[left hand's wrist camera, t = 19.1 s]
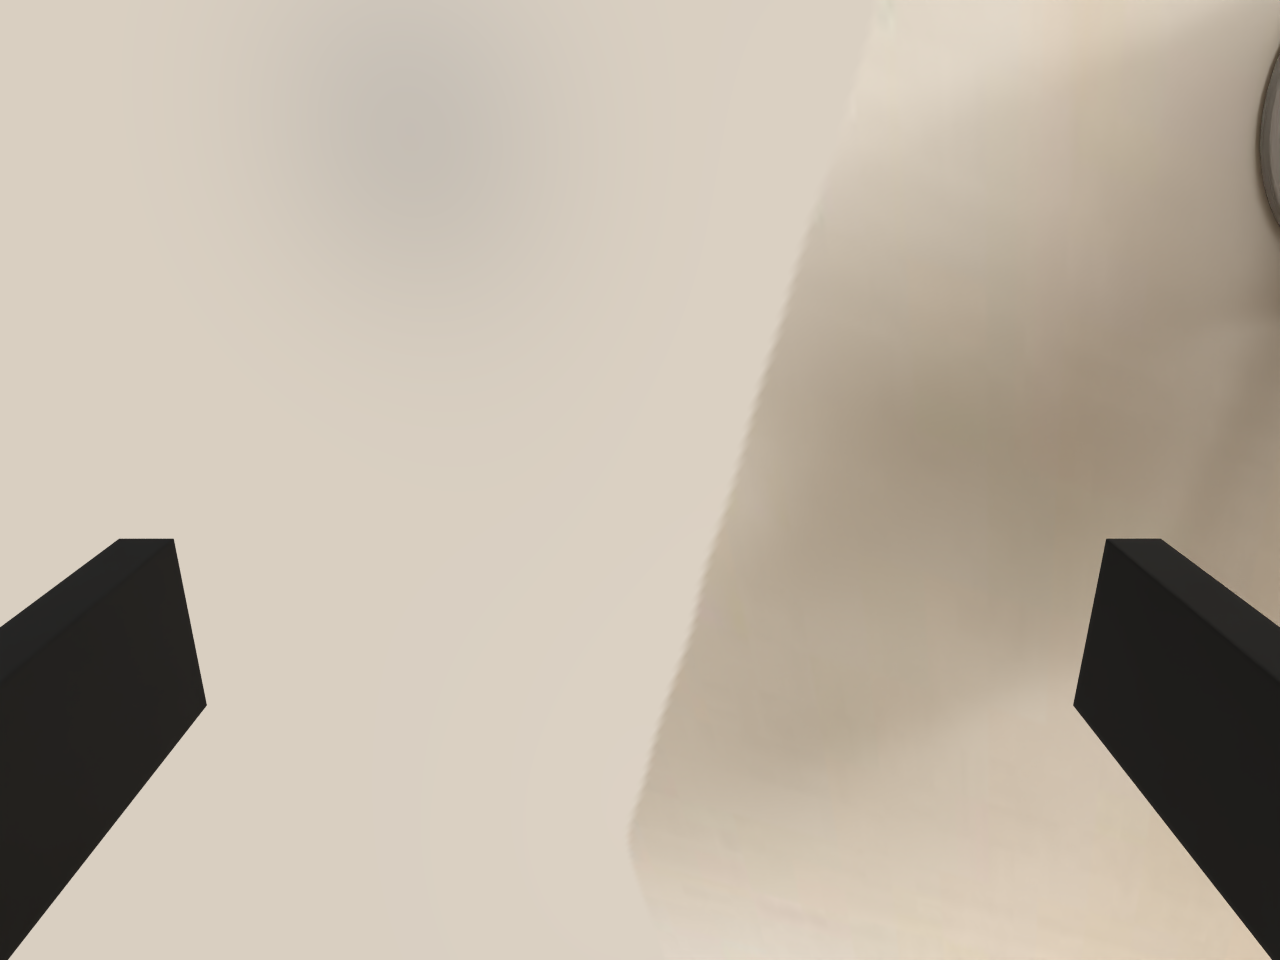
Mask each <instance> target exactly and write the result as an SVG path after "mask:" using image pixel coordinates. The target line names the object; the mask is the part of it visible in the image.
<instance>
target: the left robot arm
mask: <svg viewBox="0 0 1280 960" xmlns="http://www.w3.org/2000/svg"><path fill="white" fill-rule="evenodd" d="M1260 156H1261V170H1262V176H1263V181H1264V187H1265V191H1266V194H1267V198H1268V201H1269V204H1270V207H1271V209H1272V212H1273V214H1274V216H1275V219H1276V221H1277V223H1278V224H1279V226H1280V54H1279V57H1278V59H1277V62H1276V64H1275V67H1274V70H1273V73H1272V76H1271V80H1270V83H1269V86H1268V90H1267V94H1266V99H1265V104H1264V108H1263V115H1262V124H1261V136H1260ZM206 706H207V704H206V699H205V694H204V689H203V684H202V679H201V674H200V669H199V664H198V659H197V654H196V649H195V644H194V639H193V634H192V629H191V624H190V619H189V614H188V609H187V604H186V598H185V594H184V589H183V584H182V578H181V573H180V568H179V563H178V558H177V553H176V548H175V543H174V539H118V540H117V541H116V542H114V543H113V544H112V545H110V546H109V547H108V548H106V549H105V550H103V551H102V552H101V553H100V554H98V555H97V556H95V557H94V558H93V559H91V560H90V561H89V562H87V563H86V564H85V565H83V566H82V567H81V568H79V569H78V570H77V571H75V572H74V573H73V574H71V575H70V576H69V577H67V578H66V579H65V580H63V581H62V582H60V583H59V584H58V585H56V586H55V587H54V588H52V589H51V590H50V591H48V592H47V593H46V594H44V595H43V596H42V597H40V598H39V599H38V600H36V601H35V602H34V603H32V604H31V605H30V606H28V607H27V608H26V609H24V610H23V611H22V612H20V613H19V614H18V615H16V616H15V617H14V618H12V619H11V620H9V621H8V622H7V623H5V624H4V625H3V626H1V627H0V960H8V959H9V958H10V956H11V955H12V954H13V953H14V951H15V950H16V949H17V947H18V946H19V945H20V944H21V942H22V941H23V940H24V938H25V937H26V936H27V935H28V933H29V932H30V931H31V929H32V928H33V927H34V926H35V924H36V923H37V922H38V921H39V919H40V918H41V917H42V915H43V914H44V913H45V912H46V910H47V909H48V908H49V906H50V905H51V904H52V903H53V901H54V900H55V899H56V897H57V896H58V895H59V894H60V892H61V891H62V890H63V889H64V887H65V886H66V885H67V883H68V882H69V881H70V880H71V878H72V877H73V876H74V874H75V873H76V872H77V871H78V869H79V868H80V867H81V866H82V864H83V863H84V862H85V860H86V859H87V858H88V857H89V855H90V854H91V853H92V851H93V850H94V849H95V848H96V846H97V845H98V844H99V843H100V841H101V840H102V839H103V837H104V836H105V835H106V834H107V832H108V831H109V830H110V828H111V827H112V826H113V825H114V823H115V822H116V821H117V819H118V818H119V817H120V816H121V814H122V813H123V812H124V810H125V809H126V808H127V807H128V805H129V804H130V803H131V802H132V800H133V799H134V798H135V796H136V795H137V794H138V793H139V791H140V790H141V789H142V787H143V786H144V785H145V784H146V782H147V781H148V780H149V779H150V777H151V776H152V775H153V773H154V772H155V771H156V770H157V768H158V767H159V766H160V764H161V763H162V762H163V761H164V759H165V758H166V757H167V755H168V754H169V753H170V752H171V750H172V749H173V748H174V746H175V745H176V744H177V743H178V741H179V740H180V739H181V738H182V736H183V735H184V734H185V732H186V731H187V730H188V729H189V727H190V726H191V725H192V724H193V722H194V721H195V720H196V718H197V717H198V716H199V715H200V713H201V712H202V711H203V709H204V708H205V707H206ZM1073 706H1074V707H1075V708H1076V709H1077V711H1078V712H1079V713H1080V715H1081V716H1082V717H1083V718H1084V720H1085V721H1086V722H1087V724H1088V725H1089V726H1090V727H1091V729H1092V730H1093V731H1094V733H1095V734H1096V735H1097V736H1098V738H1099V739H1100V740H1101V741H1102V743H1103V744H1104V745H1105V747H1106V748H1107V749H1108V750H1109V752H1110V753H1111V754H1112V756H1113V757H1114V758H1115V759H1116V761H1117V762H1118V763H1119V764H1120V766H1121V767H1122V768H1123V770H1124V771H1125V772H1126V773H1127V775H1128V776H1129V777H1130V779H1131V780H1132V781H1133V782H1134V784H1135V785H1136V786H1137V788H1138V789H1139V790H1140V791H1141V793H1142V794H1143V795H1144V796H1145V798H1146V799H1147V800H1148V802H1149V803H1150V804H1151V805H1152V807H1153V808H1154V809H1155V811H1156V812H1157V813H1158V814H1159V816H1160V817H1161V818H1162V820H1163V821H1164V822H1165V823H1166V825H1167V826H1168V827H1169V828H1170V830H1171V831H1172V832H1173V834H1174V835H1175V836H1176V837H1177V839H1178V840H1179V841H1180V843H1181V844H1182V845H1183V846H1184V848H1185V849H1186V850H1187V851H1188V853H1189V854H1190V855H1191V857H1192V858H1193V859H1194V860H1195V862H1196V863H1197V864H1198V866H1199V867H1200V868H1201V869H1202V871H1203V872H1204V873H1205V875H1206V876H1207V877H1208V878H1209V880H1210V881H1211V882H1212V883H1213V885H1214V886H1215V887H1216V889H1217V890H1218V891H1219V892H1220V894H1221V895H1222V896H1223V898H1224V899H1225V900H1226V901H1227V903H1228V904H1229V905H1230V906H1231V908H1232V909H1233V910H1234V912H1235V913H1236V914H1237V915H1238V917H1239V918H1240V919H1241V921H1242V922H1243V923H1244V924H1245V926H1246V927H1247V928H1248V930H1249V931H1250V932H1251V933H1252V935H1253V936H1254V937H1255V938H1256V940H1257V941H1258V942H1259V944H1260V945H1261V946H1262V947H1263V949H1264V950H1265V951H1266V953H1267V954H1268V955H1269V956H1270V958H1271V959H1272V960H1280V627H1279V626H1277V625H1276V624H1275V623H1273V622H1272V621H1271V620H1269V619H1268V618H1267V617H1265V616H1264V615H1263V614H1261V613H1260V612H1258V611H1257V610H1256V609H1254V608H1253V607H1252V606H1250V605H1249V604H1248V603H1246V602H1245V601H1244V600H1242V599H1241V598H1240V597H1238V596H1237V595H1236V594H1234V593H1233V592H1232V591H1230V590H1229V589H1228V588H1226V587H1225V586H1224V585H1222V584H1221V583H1220V582H1218V581H1217V580H1215V579H1214V578H1213V577H1211V576H1210V575H1209V574H1207V573H1206V572H1205V571H1203V570H1202V569H1201V568H1199V567H1198V566H1197V565H1195V564H1194V563H1193V562H1191V561H1190V560H1189V559H1187V558H1186V557H1185V556H1183V555H1182V554H1181V553H1179V552H1178V551H1177V550H1175V549H1174V548H1172V547H1171V546H1170V545H1168V544H1167V543H1166V542H1164V541H1163V540H1162V539H1106V543H1105V548H1104V553H1103V558H1102V563H1101V568H1100V573H1099V578H1098V583H1097V588H1096V593H1095V598H1094V604H1093V609H1092V614H1091V619H1090V624H1089V629H1088V634H1087V639H1086V644H1085V649H1084V654H1083V659H1082V664H1081V669H1080V674H1079V679H1078V684H1077V689H1076V694H1075V699H1074V704H1073Z"/></svg>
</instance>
